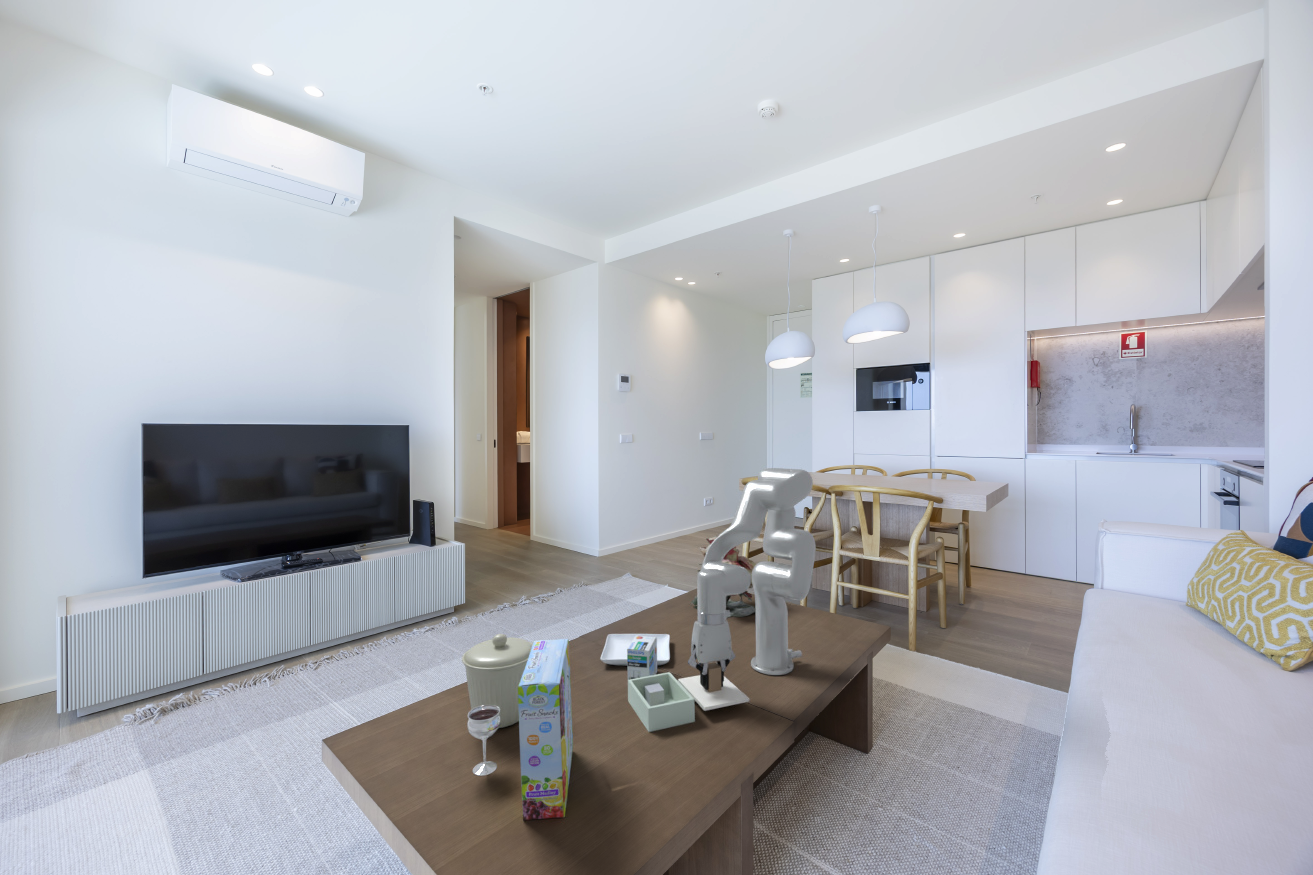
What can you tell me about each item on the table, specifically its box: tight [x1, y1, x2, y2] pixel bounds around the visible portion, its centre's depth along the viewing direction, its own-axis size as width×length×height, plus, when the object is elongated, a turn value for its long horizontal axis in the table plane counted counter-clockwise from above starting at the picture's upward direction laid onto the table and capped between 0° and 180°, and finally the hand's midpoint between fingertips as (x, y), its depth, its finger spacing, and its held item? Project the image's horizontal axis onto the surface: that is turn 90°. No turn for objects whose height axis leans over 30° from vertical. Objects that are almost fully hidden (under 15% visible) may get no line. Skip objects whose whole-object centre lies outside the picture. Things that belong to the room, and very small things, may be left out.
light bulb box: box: [626, 636, 658, 681], centre depth 156 cm, size 11×7×11 cm, turn 168°
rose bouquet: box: [690, 534, 757, 619], centre depth 217 cm, size 26×29×30 cm
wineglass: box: [466, 705, 501, 777], centre depth 115 cm, size 7×7×12 cm
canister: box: [461, 633, 533, 729], centre depth 136 cm, size 18×18×21 cm
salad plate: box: [599, 633, 671, 666], centre depth 173 cm, size 21×21×3 cm
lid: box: [677, 661, 750, 712], centre depth 142 cm, size 17×13×7 cm
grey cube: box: [645, 683, 664, 706], centre depth 141 cm, size 4×4×4 cm
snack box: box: [518, 638, 574, 821], centre depth 110 cm, size 22×9×26 cm, turn 5°
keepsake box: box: [627, 672, 696, 733], centre depth 137 cm, size 16×12×6 cm
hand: (712, 685), depth 142 cm, fingers closed on lid, 3 cm apart
